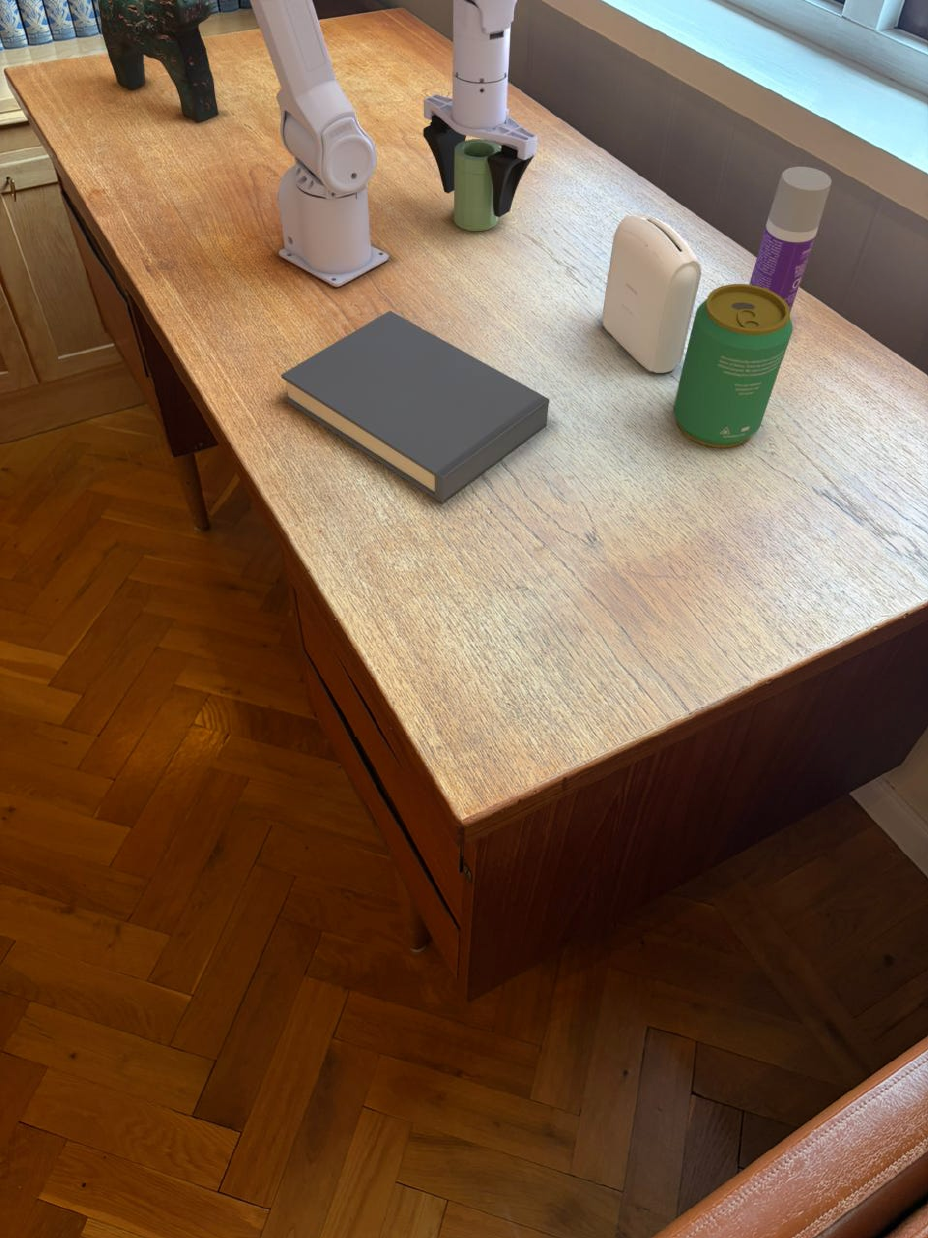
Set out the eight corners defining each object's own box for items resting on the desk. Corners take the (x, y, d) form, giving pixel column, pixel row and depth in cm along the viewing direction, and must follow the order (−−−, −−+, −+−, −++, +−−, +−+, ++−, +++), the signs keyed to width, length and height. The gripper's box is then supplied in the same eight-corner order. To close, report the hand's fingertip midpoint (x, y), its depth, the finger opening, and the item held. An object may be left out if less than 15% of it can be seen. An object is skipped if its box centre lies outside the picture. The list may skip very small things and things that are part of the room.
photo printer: (594, 323, 96) (611, 205, 86) (630, 313, 97) (650, 196, 87) (649, 379, 90) (674, 261, 80) (686, 368, 91) (715, 250, 82)
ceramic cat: (233, 116, 124) (204, -65, 108) (195, 132, 121) (158, -52, 105) (140, 73, 132) (100, -101, 116) (102, 87, 129) (55, -90, 113)
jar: (444, 219, 108) (445, 149, 102) (474, 203, 111) (476, 134, 104) (478, 235, 106) (480, 165, 100) (507, 219, 108) (511, 149, 102)
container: (785, 338, 95) (834, 193, 83) (739, 332, 95) (780, 187, 83) (785, 312, 98) (832, 168, 86) (739, 306, 98) (780, 162, 86)
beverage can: (748, 394, 89) (784, 279, 79) (767, 450, 84) (808, 335, 74) (664, 394, 89) (691, 279, 79) (678, 450, 84) (708, 335, 74)
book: (285, 401, 87) (280, 374, 85) (391, 336, 94) (389, 310, 91) (443, 504, 79) (442, 477, 77) (546, 425, 86) (549, 398, 83)
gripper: (560, 80, 95) (548, 210, 105) (454, 41, 101) (453, 167, 111) (515, 102, 92) (507, 234, 102) (408, 60, 97) (412, 188, 108)
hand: (476, 200), depth 107 cm, fingers open, 7 cm apart
